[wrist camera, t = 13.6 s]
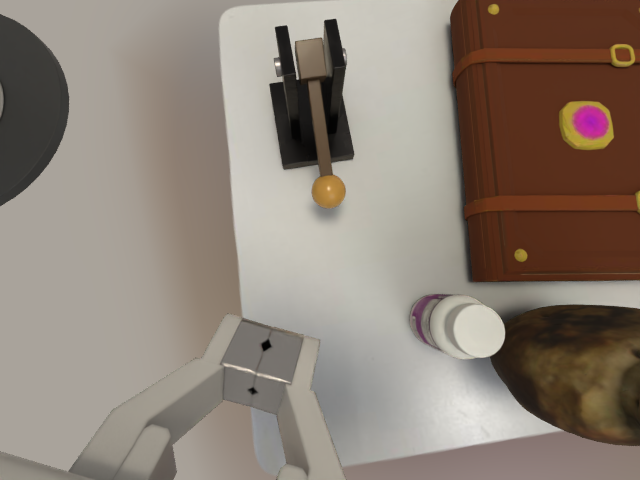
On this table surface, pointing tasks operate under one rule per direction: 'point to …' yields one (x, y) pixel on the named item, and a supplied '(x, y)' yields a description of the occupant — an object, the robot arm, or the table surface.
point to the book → (550, 137)
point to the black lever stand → (296, 107)
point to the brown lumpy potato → (576, 369)
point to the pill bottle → (457, 326)
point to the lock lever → (318, 120)
